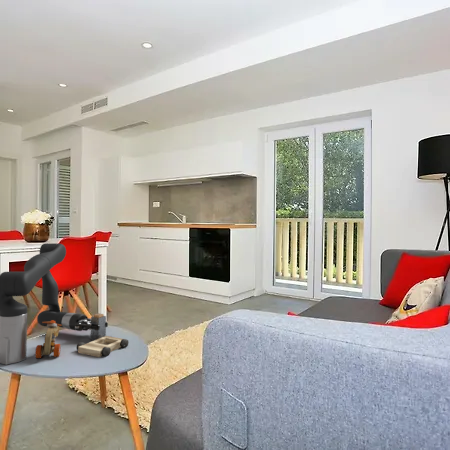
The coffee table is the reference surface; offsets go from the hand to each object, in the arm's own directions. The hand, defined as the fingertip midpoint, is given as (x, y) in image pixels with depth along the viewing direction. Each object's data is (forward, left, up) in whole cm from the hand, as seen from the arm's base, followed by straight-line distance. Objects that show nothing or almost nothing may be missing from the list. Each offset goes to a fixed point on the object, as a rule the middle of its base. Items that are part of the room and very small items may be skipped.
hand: (103, 326), depth 159 cm
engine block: (0, +3, -6) cm, 7 cm away
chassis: (-9, -8, -6) cm, 14 cm away
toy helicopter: (-21, +8, -6) cm, 23 cm away
